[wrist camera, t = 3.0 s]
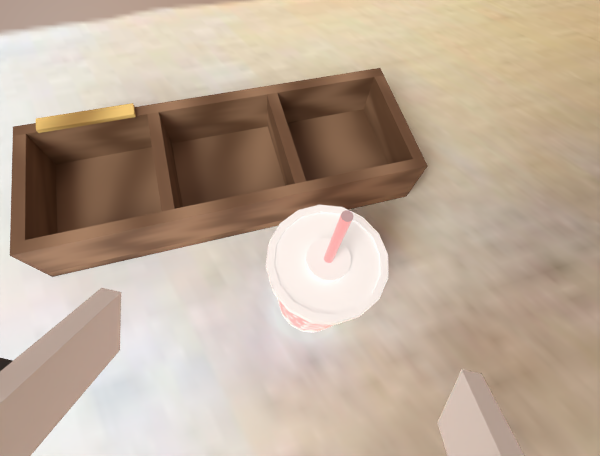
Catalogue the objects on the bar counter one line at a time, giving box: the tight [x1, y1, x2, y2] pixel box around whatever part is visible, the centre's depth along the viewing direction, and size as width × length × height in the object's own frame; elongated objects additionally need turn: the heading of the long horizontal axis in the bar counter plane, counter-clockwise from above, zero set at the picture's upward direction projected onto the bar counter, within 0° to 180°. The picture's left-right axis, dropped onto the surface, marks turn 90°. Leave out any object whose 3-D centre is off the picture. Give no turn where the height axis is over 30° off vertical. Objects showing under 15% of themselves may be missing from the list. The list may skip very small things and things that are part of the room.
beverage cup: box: [266, 205, 388, 332], centre depth 20 cm, size 6×6×14 cm
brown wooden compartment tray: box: [10, 68, 427, 277], centre depth 27 cm, size 27×10×5 cm, turn 106°
